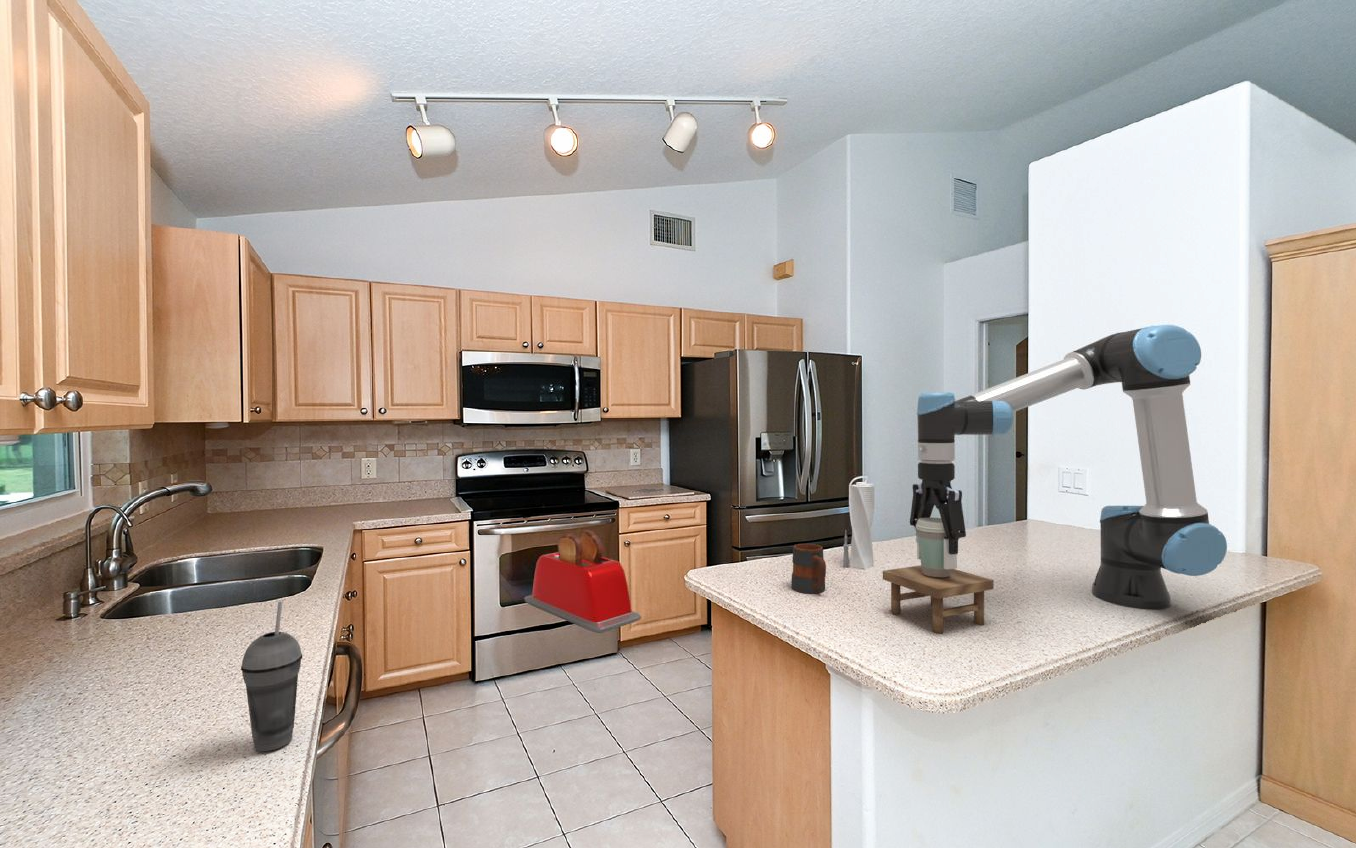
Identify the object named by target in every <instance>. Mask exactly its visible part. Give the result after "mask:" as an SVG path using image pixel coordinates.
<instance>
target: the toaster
mask: <svg viewBox="0 0 1356 848" xmlns="http://www.w3.org/2000/svg"><path fill="white" fill-rule="evenodd" d="M603 554H604V546H603V543H602V541H601V539H600V538H599V536H598V535H597V534H596V533H595V532H594V531H592V530H589V529H586V530H585V529H584V530H582V531H581V533H579V536H577V535H575V534H572V533H568V534H562V535H560V537H559V538H558V540H557V552H553V553H546V554H542V555H541V556H539V558H538V560H537V561H536V565H535V571H534V575H533V576H534V577H533V585H532V594H530V595H527V596H524V602H525V603H526V604H528V605H530V606H532V607H535V608H537V609H539V610H541V611H544V612H546V613H549V614H551V615H552V616H555V617H557V618H560V619H562V620H564V621H566V622H569V623H571V624H573V625H576V626H578V627H581V628H583V629H585V630H587V631H591V632H593V633H595V634H596V633H598V634H601V633H605V632H609V631H611V630H615V629H617V628H621V627H623V626H627V625H629V624H632V623H636V622H638V621H640V620H642V615H641V614H640V613H638V612H636V611H632V605H631V604H632V603H631V599H630V593H629V592H630V591H629V585H628V580H627V576H626V572H625V570H624V567H623V566H622V564H621V562H619V561H617V560H615V559H611V558H607V557H605V556H603Z"/></svg>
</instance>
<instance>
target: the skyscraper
mask: <svg viewBox="0 0 1356 848" xmlns="http://www.w3.org/2000/svg"><path fill="white" fill-rule="evenodd" d="M858 479H865V480H864V481H860V482H859V481H858V482H856V483H855V484H853V482H854V481H856V480H858ZM868 480H869V477H868V476H866V475H865V476H864V475H861V476H856V477H855V478H853V479H852V480H851V481H850V483H849V484H848V493H849V494H848V508H849V517H850V525H851V529H852V531H851V532H852V534H851V543H850V557H849V544H848V535H847V530H846V529H845V530H844V531H845V532H844V533H845V535H844V544H843V545H842V547H843V559H842V564H843V568H845V569H847V568H849V567H851V568H855V569H856V568H857V569H860V570H864V571H867V570H868V569H869V568H872V567H874V566H875V565H874V549H873V548H874V547H873V537H872V525H873V521H874V511H875V484H873V483H867V482H868ZM849 563H850V565H849Z"/></svg>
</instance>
